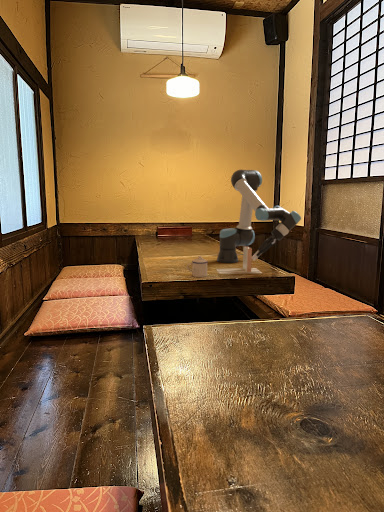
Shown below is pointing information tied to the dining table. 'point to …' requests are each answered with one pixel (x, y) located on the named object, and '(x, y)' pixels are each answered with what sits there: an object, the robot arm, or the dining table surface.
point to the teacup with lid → (199, 267)
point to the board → (237, 271)
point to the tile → (247, 258)
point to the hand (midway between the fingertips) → (252, 259)
